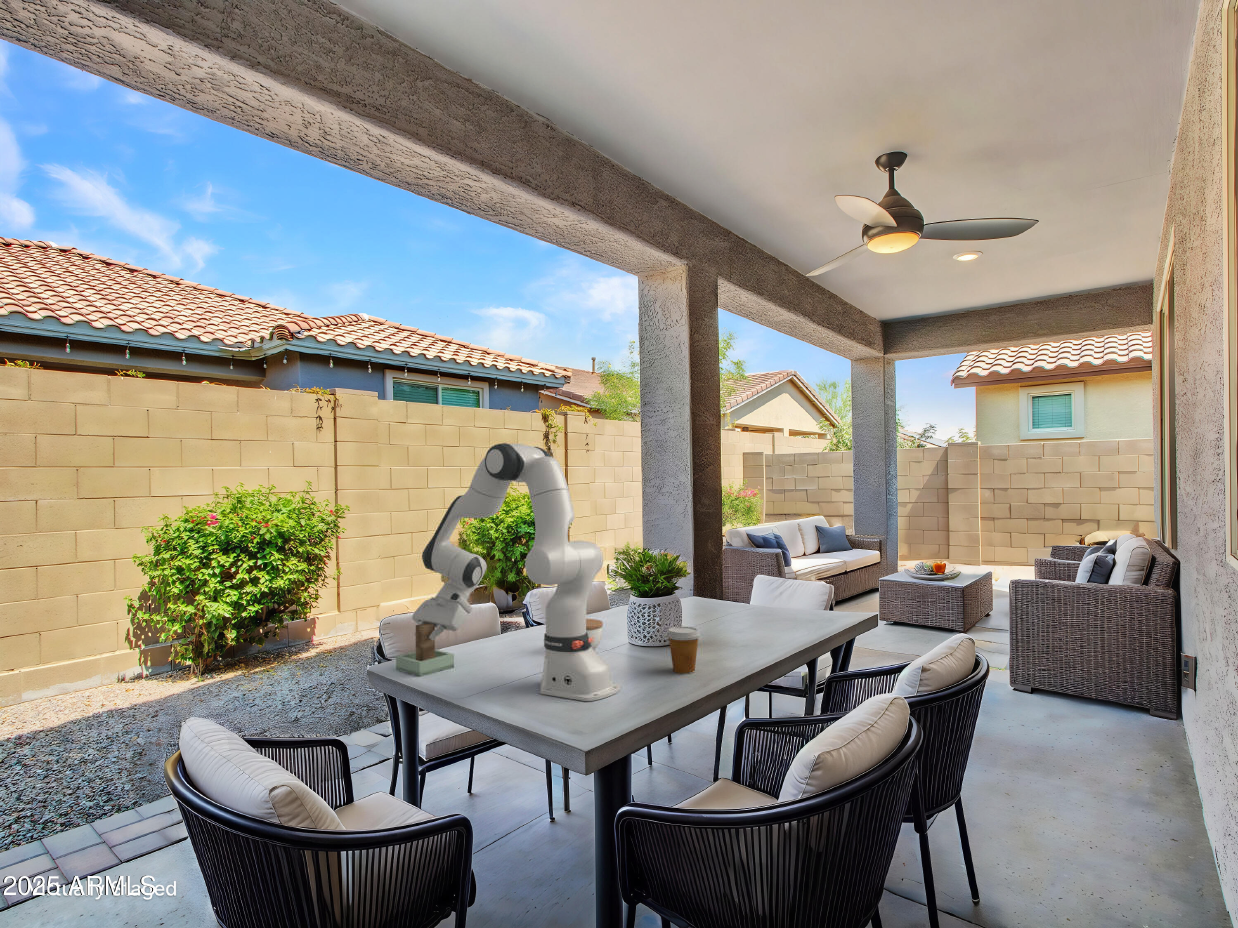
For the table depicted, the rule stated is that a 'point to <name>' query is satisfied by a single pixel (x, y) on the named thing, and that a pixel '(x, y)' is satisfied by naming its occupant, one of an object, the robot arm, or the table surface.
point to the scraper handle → (424, 642)
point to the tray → (424, 663)
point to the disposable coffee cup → (683, 648)
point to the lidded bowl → (594, 631)
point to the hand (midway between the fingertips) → (423, 637)
